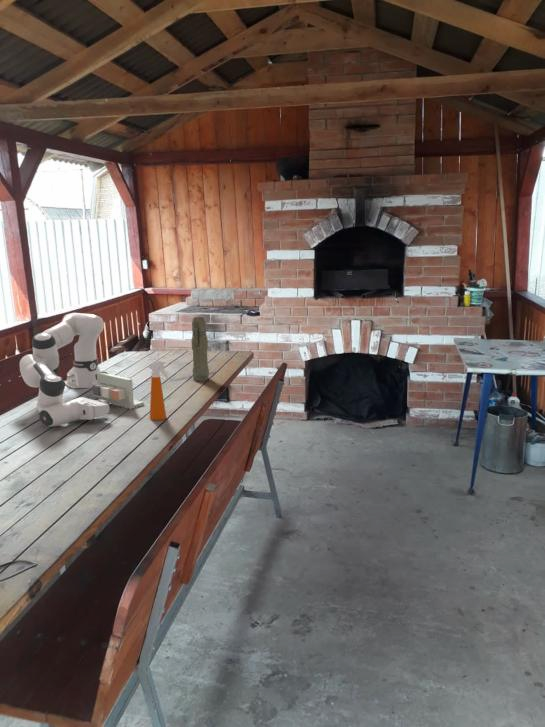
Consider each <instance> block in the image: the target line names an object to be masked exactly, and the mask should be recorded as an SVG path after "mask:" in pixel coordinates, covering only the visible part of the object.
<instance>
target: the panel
mask: <svg viewBox="0 0 545 727" xmlns="http://www.w3.org/2000/svg"><path fill="white" fill-rule="evenodd" d="M102 372H103V371H100V372H98V373H97V384H101V383H104V384H107V386H111V385H112V386H116V389H118V388H125V389H126V398H125V399H121V400H119V401H116V400H112V399H111V397H110V398H104V397H102V395H100V396H98V397H97V398H98V400H106V401H107V404H109V403H111V404H110V405H113V404H114V405H113V406H117V405H118V406H117V407H120V406H121V407H120V408H124V407H125V408H124V409H128V408H129V410H133V409H136V408H139V407H138V406H140V407H142V405H143V406H145V401H142V400H136V399H135V398H134V388H133V387H134V386H133V379H132V378H129V377H124V376H119V375H114V374H110V373H108V374H106V373H102ZM135 407H136V408H135ZM132 408H133V409H132Z"/></svg>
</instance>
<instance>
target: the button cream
mask: <svg viewBox="0 0 545 727" xmlns="http://www.w3.org/2000/svg"><path fill="white" fill-rule="evenodd" d="M114 389H116V386H112V385H111V386H107V387H101V390H102V397H104V398H110V397H111V390H114Z"/></svg>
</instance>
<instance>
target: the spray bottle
mask: <svg viewBox="0 0 545 727" xmlns="http://www.w3.org/2000/svg"><path fill="white" fill-rule="evenodd" d="M165 364H166V361H165V360H159V361H158V360H157V361H156V362H153V363H151V364H150V365H149V366H148V368H149V369H151V379H150V380H151V382H150V405H149V406H150V407H149V418H150V419H149V420H151V421H162V420H165V419H166V418H167V413H166V408H165V406H166V405H165V401H164V400H165V399H164V393H163V386H162V381H161V380H162V379H161V373H162V375H163V376H164V377H165V378H166V379H167V380H169V379H170V378H169V376H168V375H167V372H166V370H165Z"/></svg>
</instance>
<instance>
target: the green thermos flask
mask: <svg viewBox="0 0 545 727" xmlns="http://www.w3.org/2000/svg"><path fill="white" fill-rule="evenodd" d="M191 331H192V337H191V339H190V340H191V350H192V360H193V361H192V362H193V364H192V366H193V367H192V378H193V381H194V380H196V381H195V382H206V381H205V380H207V381H209V380H210V377H209V376H210V370H209V366H208V363H209V362H208V348H209V345H208V344H209V343H208V342H209V341H208V337H207V322H206V319H205V317H203V316H195V317H193V318H192V322H191ZM208 379H209V380H208Z"/></svg>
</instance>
